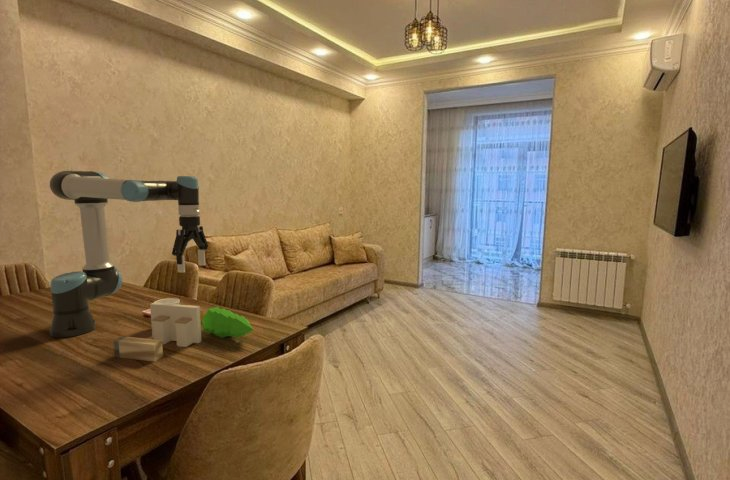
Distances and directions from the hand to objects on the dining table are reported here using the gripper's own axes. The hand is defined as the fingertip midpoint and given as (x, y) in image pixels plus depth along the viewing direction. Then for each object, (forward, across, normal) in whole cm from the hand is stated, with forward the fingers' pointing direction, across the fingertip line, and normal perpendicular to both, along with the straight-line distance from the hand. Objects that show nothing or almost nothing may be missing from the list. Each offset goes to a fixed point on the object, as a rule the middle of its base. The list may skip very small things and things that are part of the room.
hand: (192, 268), depth 159 cm
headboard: (+26, -11, +2) cm, 29 cm away
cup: (+27, +3, +15) cm, 30 cm away
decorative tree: (+27, -3, -15) cm, 31 cm away
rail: (+26, -25, +5) cm, 37 cm away
